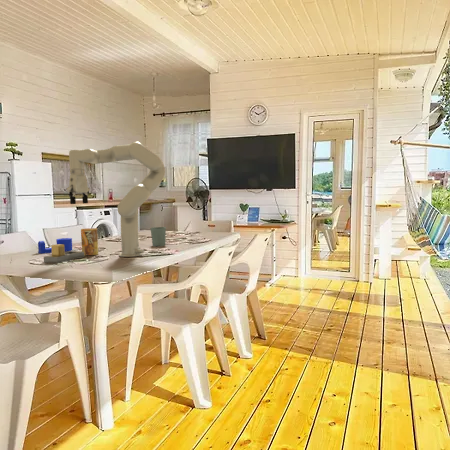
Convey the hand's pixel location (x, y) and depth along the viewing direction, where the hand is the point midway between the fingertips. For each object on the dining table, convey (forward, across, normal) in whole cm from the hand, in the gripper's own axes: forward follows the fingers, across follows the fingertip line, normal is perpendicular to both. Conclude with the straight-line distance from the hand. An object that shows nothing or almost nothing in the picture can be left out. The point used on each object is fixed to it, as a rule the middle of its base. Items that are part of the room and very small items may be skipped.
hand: (79, 203), depth 225 cm
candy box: (+30, +8, +1) cm, 31 cm away
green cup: (+31, +54, -17) cm, 64 cm away
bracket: (+30, +13, +32) cm, 46 cm away
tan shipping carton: (+29, -14, +4) cm, 33 cm away
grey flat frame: (+30, -10, +4) cm, 32 cm away
